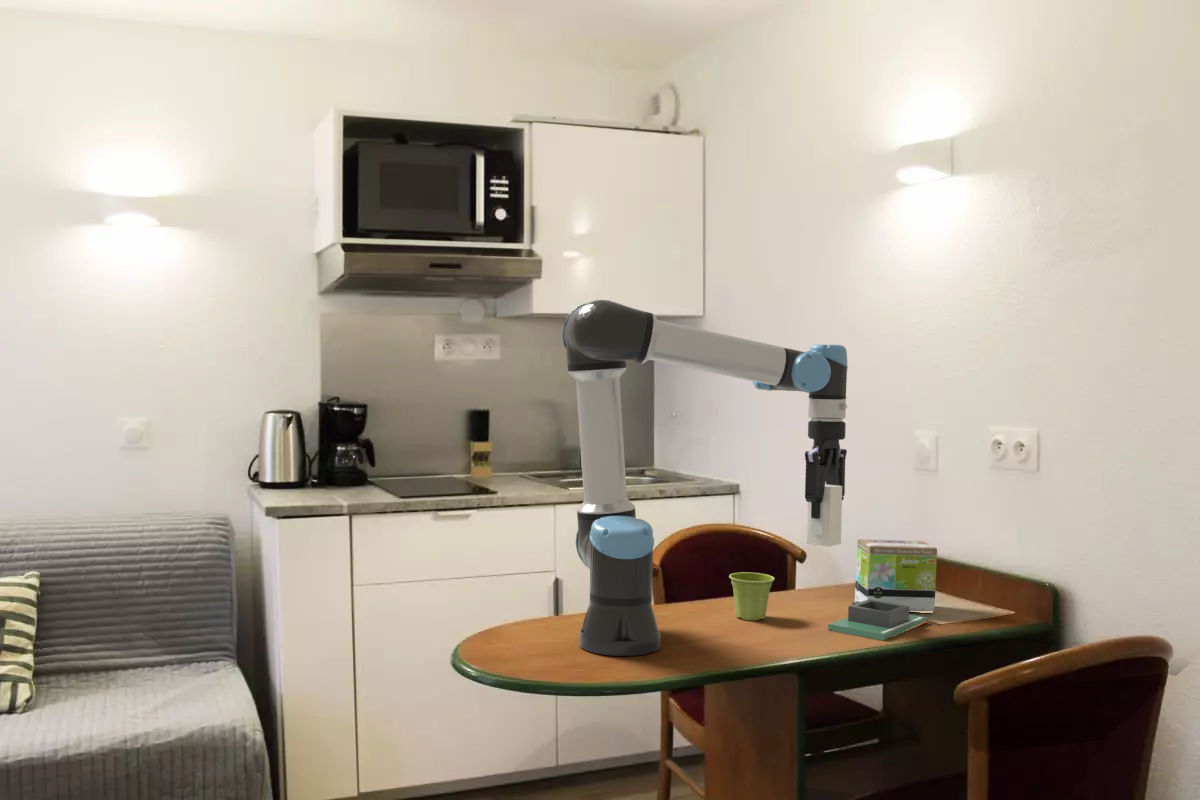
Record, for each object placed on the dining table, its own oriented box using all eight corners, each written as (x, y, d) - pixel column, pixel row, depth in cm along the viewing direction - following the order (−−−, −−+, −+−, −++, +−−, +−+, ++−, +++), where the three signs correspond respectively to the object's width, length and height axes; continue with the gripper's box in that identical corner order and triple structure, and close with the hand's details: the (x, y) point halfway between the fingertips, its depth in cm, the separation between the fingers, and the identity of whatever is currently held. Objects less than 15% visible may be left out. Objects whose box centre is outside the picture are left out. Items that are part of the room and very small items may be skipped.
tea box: (867, 613, 226) (868, 545, 225) (854, 603, 236) (855, 538, 235) (936, 614, 226) (937, 546, 226) (920, 604, 236) (922, 539, 236)
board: (883, 640, 202) (884, 619, 202) (828, 630, 210) (828, 609, 210) (927, 623, 218) (927, 603, 217) (873, 613, 225) (874, 594, 225)
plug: (829, 546, 212) (830, 487, 212) (803, 543, 216) (805, 485, 215) (840, 543, 216) (842, 485, 215) (815, 540, 220) (817, 483, 219)
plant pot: (771, 613, 224) (772, 573, 224) (774, 623, 215) (775, 581, 215) (727, 611, 225) (728, 571, 225) (728, 622, 216) (729, 580, 215)
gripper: (821, 421, 206) (818, 539, 206) (864, 419, 219) (861, 530, 220) (788, 420, 210) (785, 535, 211) (831, 418, 224) (829, 526, 225)
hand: (824, 532), depth 215 cm, fingers closed on plug, 5 cm apart
